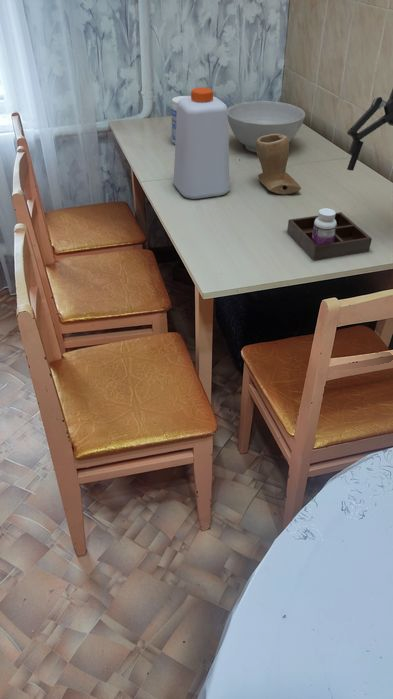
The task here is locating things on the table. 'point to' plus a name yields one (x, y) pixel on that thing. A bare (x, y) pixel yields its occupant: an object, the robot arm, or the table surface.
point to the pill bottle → (324, 227)
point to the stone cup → (275, 164)
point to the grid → (345, 237)
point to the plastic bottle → (201, 146)
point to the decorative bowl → (264, 120)
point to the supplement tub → (175, 115)
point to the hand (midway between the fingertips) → (376, 178)
